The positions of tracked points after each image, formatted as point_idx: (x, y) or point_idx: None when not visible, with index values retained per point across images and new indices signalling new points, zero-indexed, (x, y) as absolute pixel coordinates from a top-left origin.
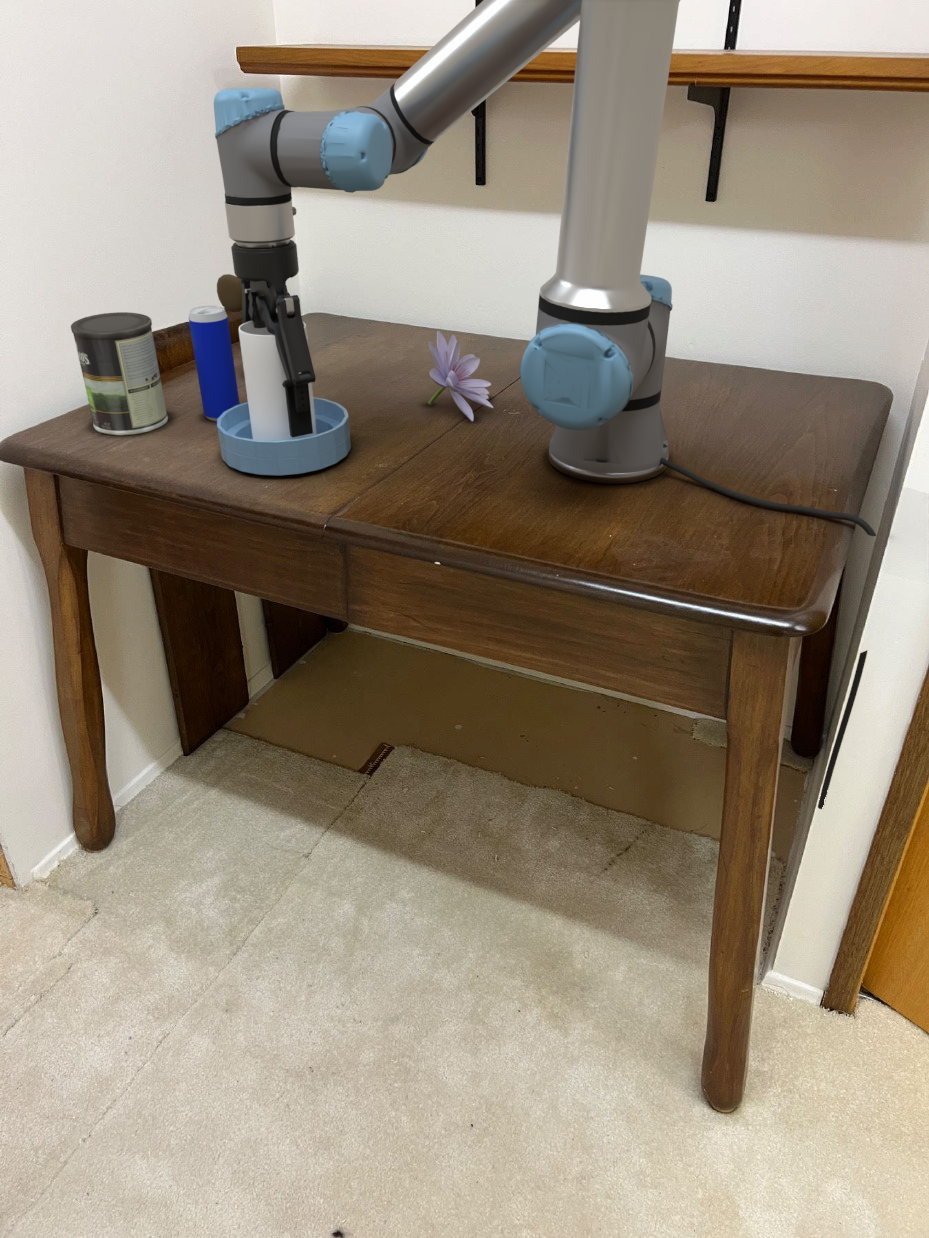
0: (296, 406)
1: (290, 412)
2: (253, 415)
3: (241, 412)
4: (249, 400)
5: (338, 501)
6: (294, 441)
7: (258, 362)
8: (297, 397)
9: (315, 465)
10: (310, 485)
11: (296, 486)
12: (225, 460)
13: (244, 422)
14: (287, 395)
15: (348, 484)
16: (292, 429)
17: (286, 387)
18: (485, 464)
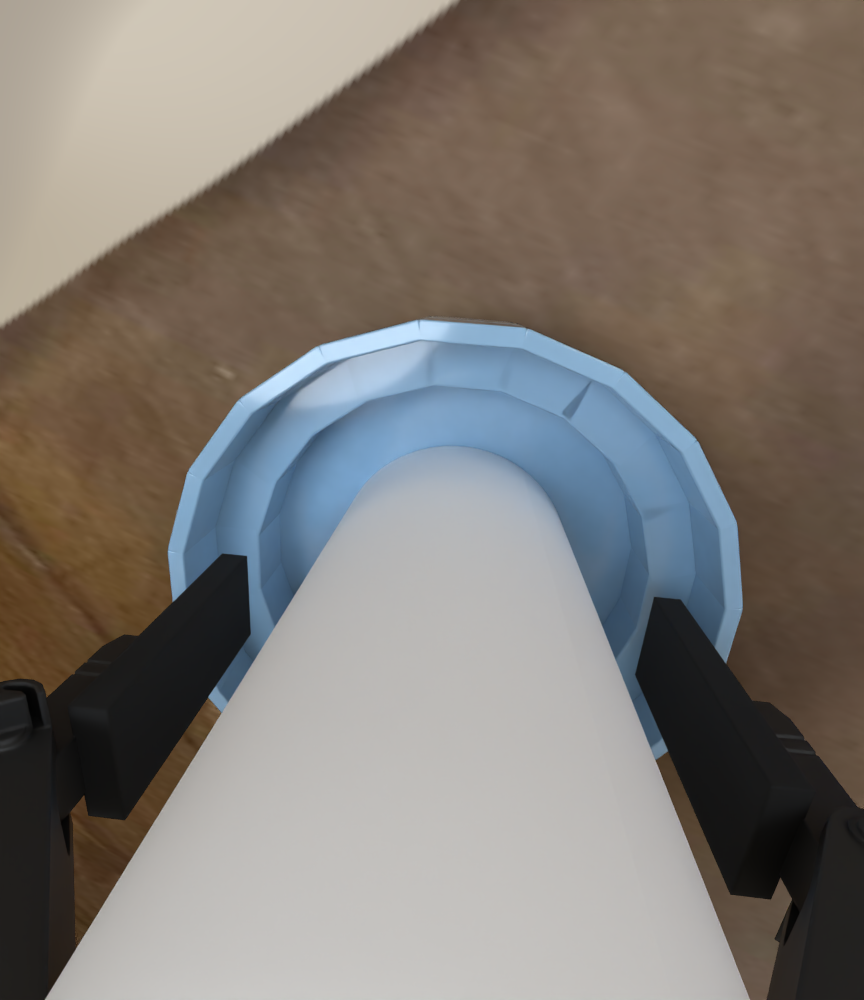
0: (115, 652)
1: (166, 614)
2: (425, 502)
3: (705, 526)
4: (449, 530)
5: (31, 507)
6: (171, 539)
7: (236, 735)
8: (61, 690)
9: None
10: (174, 494)
11: (186, 455)
12: (463, 318)
13: (671, 511)
14: (115, 665)
15: (134, 584)
16: (204, 572)
17: (84, 698)
18: (114, 875)
